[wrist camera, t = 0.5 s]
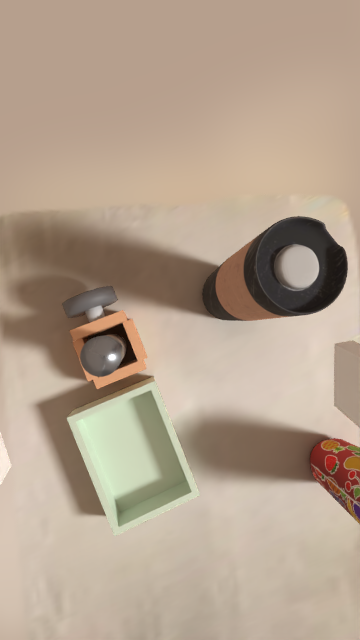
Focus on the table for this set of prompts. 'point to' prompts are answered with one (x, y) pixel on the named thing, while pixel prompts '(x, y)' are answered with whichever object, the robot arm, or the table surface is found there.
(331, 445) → the smoothie
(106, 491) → the tray
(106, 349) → the pin
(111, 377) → the block
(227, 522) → the table surface
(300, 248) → the travel mug
